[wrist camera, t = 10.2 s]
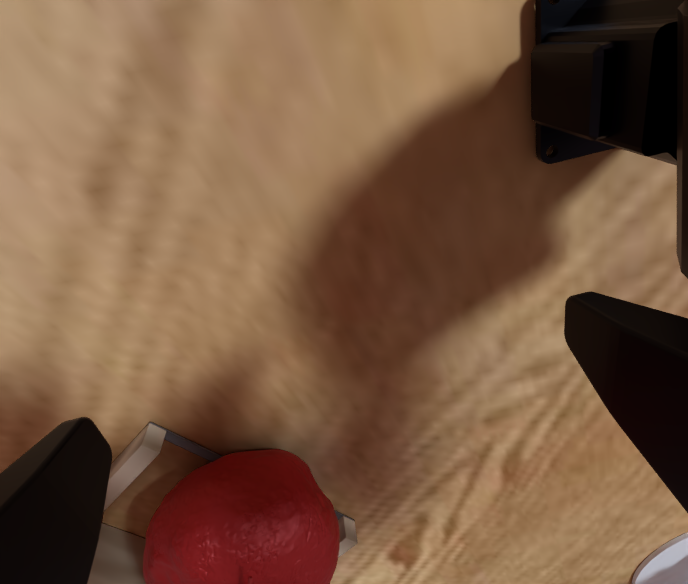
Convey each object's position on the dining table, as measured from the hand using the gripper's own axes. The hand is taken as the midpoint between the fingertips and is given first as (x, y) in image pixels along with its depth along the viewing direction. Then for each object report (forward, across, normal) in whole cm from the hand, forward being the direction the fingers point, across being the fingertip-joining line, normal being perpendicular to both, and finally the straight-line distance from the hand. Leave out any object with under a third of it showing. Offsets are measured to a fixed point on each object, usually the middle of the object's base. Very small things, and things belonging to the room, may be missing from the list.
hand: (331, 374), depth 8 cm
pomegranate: (+12, +8, +17) cm, 22 cm away
